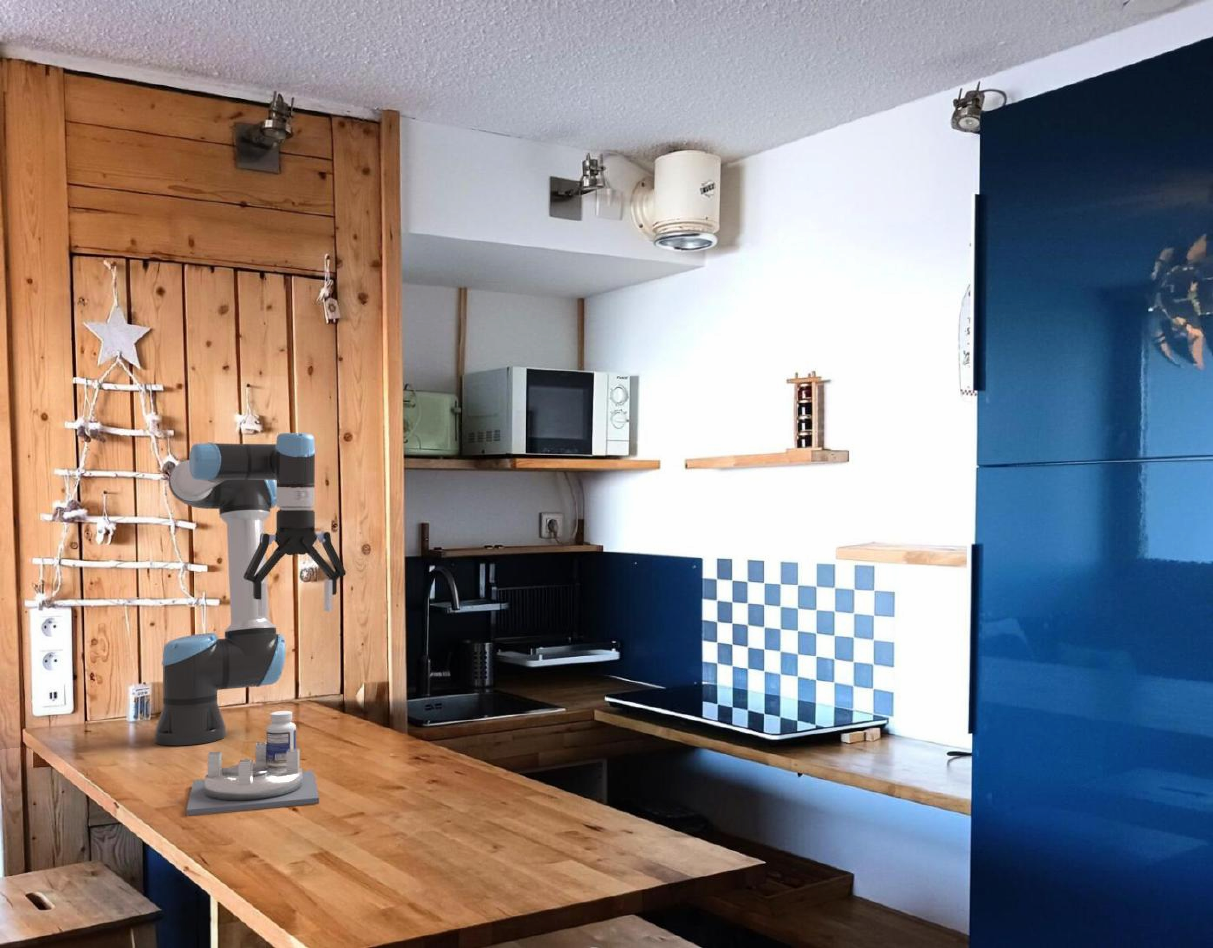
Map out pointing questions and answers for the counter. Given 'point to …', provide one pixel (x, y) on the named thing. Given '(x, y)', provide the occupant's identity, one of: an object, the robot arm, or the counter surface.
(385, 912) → the counter surface
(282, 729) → the pill bottle
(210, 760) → the grey shallow round piece
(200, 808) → the grey square plate
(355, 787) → the counter surface
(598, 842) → the counter surface
